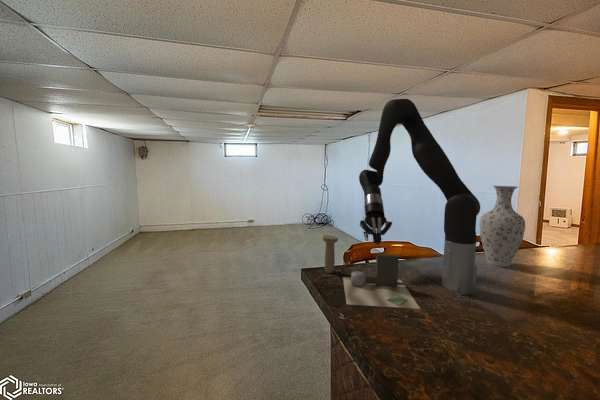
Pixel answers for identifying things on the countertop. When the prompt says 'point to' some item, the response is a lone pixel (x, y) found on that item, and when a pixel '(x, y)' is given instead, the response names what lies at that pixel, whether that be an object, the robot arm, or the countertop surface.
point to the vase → (501, 229)
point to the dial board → (378, 295)
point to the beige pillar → (329, 253)
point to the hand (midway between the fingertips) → (377, 243)
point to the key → (380, 273)
